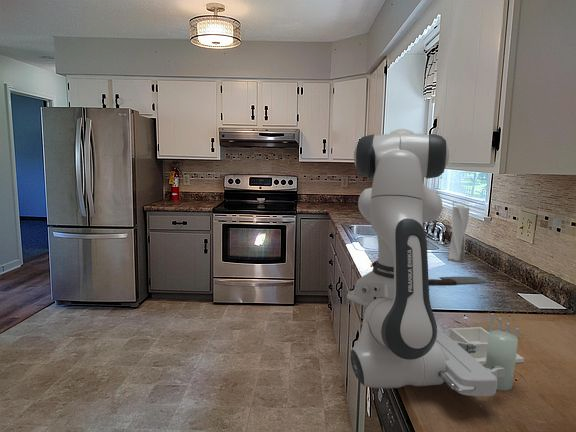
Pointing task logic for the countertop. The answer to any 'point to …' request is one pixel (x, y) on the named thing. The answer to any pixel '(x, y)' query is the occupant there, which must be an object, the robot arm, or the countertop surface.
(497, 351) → the sage green cylinder
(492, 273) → the countertop surface
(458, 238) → the skyscraper
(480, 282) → the cleaver
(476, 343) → the dish rack
